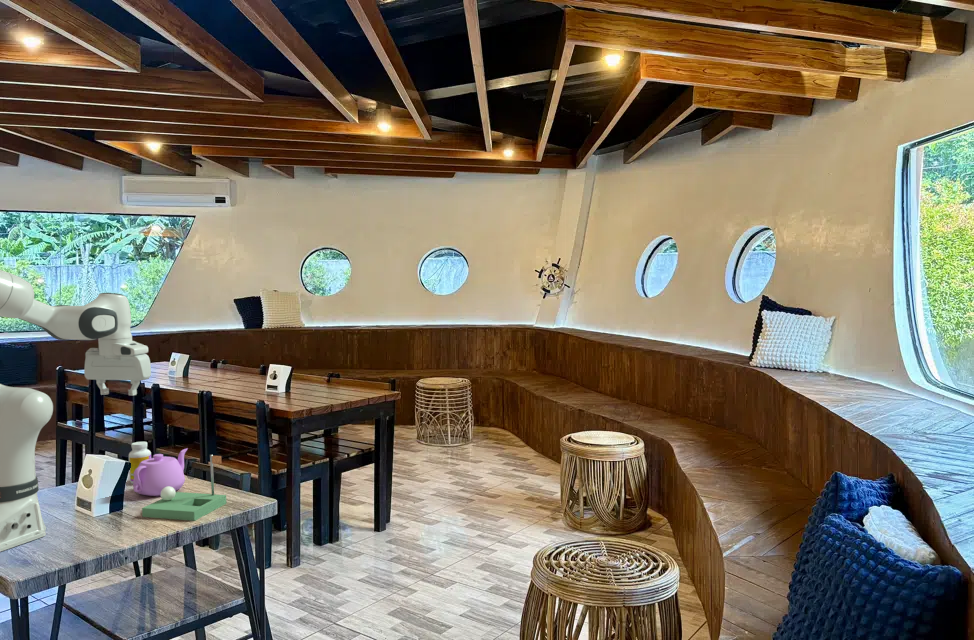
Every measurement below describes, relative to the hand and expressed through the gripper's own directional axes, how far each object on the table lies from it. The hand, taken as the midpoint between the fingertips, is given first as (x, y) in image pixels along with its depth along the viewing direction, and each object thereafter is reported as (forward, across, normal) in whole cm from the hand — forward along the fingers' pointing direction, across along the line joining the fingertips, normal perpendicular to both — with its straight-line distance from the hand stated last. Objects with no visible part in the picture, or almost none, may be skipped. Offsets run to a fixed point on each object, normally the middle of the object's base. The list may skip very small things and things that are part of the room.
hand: (118, 394), depth 215 cm
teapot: (+33, +4, +12) cm, 35 cm away
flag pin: (+30, +29, +4) cm, 41 cm away
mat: (+32, +22, -3) cm, 39 cm away
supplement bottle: (+33, -10, +20) cm, 39 cm away
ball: (+28, +17, -3) cm, 33 cm away
